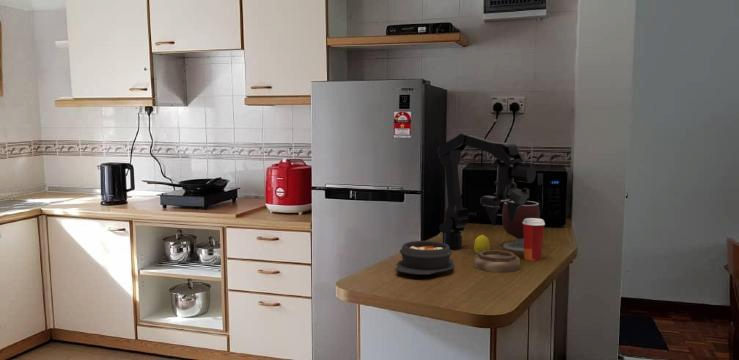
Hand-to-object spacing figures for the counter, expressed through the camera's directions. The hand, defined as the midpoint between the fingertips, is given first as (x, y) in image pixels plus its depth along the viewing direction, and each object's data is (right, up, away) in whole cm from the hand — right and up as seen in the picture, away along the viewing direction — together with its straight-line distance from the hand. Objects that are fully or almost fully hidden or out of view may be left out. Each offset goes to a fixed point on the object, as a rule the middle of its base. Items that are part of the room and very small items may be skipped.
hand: (502, 223), depth 222 cm
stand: (-4, -14, -11) cm, 18 cm away
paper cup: (+10, -13, 0) cm, 16 cm away
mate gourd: (+10, -11, +19) cm, 24 cm away
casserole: (-28, -14, -16) cm, 36 cm away
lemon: (-7, -12, +3) cm, 14 cm away
